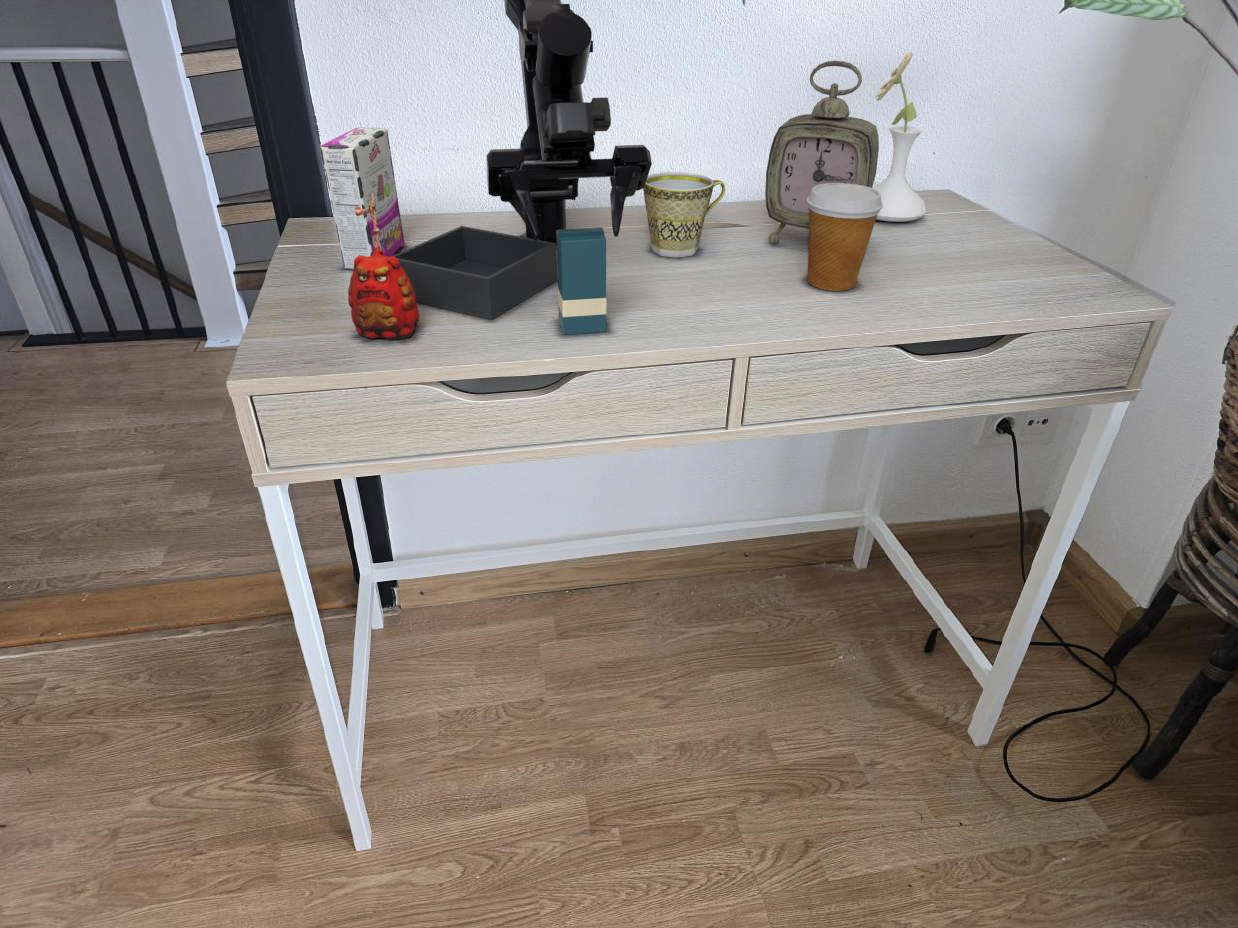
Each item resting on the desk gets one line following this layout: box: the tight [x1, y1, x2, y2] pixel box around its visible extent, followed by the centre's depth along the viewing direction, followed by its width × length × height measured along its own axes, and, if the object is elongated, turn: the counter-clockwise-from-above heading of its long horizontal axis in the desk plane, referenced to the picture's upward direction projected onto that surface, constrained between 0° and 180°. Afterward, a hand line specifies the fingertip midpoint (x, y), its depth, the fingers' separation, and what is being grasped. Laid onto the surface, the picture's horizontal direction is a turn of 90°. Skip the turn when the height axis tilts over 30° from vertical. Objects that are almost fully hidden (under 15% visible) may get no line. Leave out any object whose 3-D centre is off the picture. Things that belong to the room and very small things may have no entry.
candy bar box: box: [319, 126, 406, 271], centre depth 111 cm, size 11×5×16 cm, turn 171°
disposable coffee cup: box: [806, 183, 883, 292], centre depth 106 cm, size 10×10×12 cm
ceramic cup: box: [642, 171, 726, 259], centre depth 117 cm, size 13×10×10 cm
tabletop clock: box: [764, 60, 880, 245], centre depth 116 cm, size 14×9×25 cm, turn 68°
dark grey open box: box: [391, 225, 558, 321], centre depth 104 cm, size 15×15×5 cm
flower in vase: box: [872, 51, 928, 223], centre depth 128 cm, size 13×11×25 cm
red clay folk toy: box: [347, 193, 420, 341], centre depth 90 cm, size 8×7×15 cm
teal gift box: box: [556, 226, 608, 336], centre depth 93 cm, size 4×5×12 cm
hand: (577, 237), depth 93 cm, fingers open, 9 cm apart
